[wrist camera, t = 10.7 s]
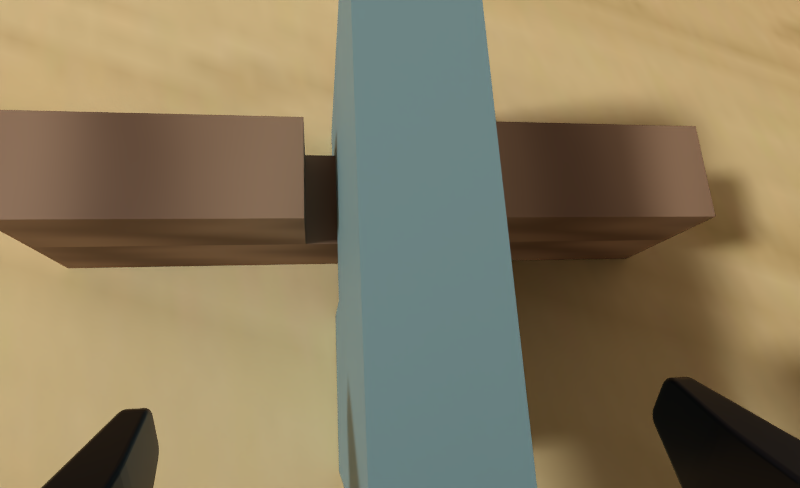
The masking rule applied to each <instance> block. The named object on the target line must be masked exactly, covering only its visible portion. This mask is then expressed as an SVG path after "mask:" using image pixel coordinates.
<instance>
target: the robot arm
mask: <svg viewBox="0 0 800 488" xmlns="http://www.w3.org/2000/svg"><path fill="white" fill-rule="evenodd" d="M653 421H654V424H655V427H656V429H657V431H658V434H659V436H660V438H661V441H662V443H663V445H664V447H665V450H666V452H667V454H668V457H669V459H670V461H671V464H672V466H673V468H674V470H675V473H676V475H677V477H678V480H679V482H680V484H681V487H682V488H800V440H799V439H797V438H795V437H793V436H792V435H790V434H788V433H786V432H785V431H783V430H781V429H779V428H778V427H776V426H774V425H772V424H771V423H769V422H767V421H765V420H764V419H762V418H760V417H758V416H757V415H755V414H753V413H751V412H750V411H748V410H746V409H744V408H743V407H741V406H739V405H737V404H736V403H734V402H732V401H730V400H729V399H727V398H725V397H723V396H722V395H720V394H718V393H716V392H715V391H713V390H711V389H709V388H708V387H706V386H704V385H702V384H701V383H699V382H697V381H695V380H694V379H692V378H689V377H675V378H668V379H666V380H665V381H664V383H663V385H662V387H661V390H660V393H659V395H658V398H657V400H656V403H655V406H654V408H653ZM158 454H159V446H158V440H157V435H156V430H155V425H154V420H153V416H152V413H151V411H150V410H149V409H147V408H140V409H125V410H122V411H121V412H119V413H118V414H117V415H116V416H115V417H114V418H113V419H112V420H111V421H110V422H109V423H108V424H107V425H106V426H105V427H103V428H102V429H101V430H100V431H99V432H98V433H97V434H96V435H95V436H94V437H93V438H92V439H91V440H90V441H89V442H88V443H87V444H86V445H85V446H84V447H83V448H82V449H81V450H80V451H79V452H78V453H77V454H76V455H75V456H74V457H73V458H72V459H70V460H69V461H68V462H67V463H66V464H65V465H64V466H63V467H62V468H61V469H60V470H59V471H58V472H57V473H56V474H55V475H54V476H53V477H52V478H51V479H50V480H49V481H48V482H47V483H46V484H45V485H44V486H43V487H42V488H153V485H154V480H155V474H156V468H157V462H158Z"/></svg>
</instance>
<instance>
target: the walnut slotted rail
mask: <svg viewBox="0 0 800 488" xmlns="http://www.w3.org/2000/svg"><path fill="white" fill-rule="evenodd" d="M496 128H497V137H498V145H499V154H500V163H501V172H502V181H503V190H504V199H505V208H506V217H507V225H508V234H509V243H510V252H511V260H560V259H618V258H628V257H630V256H632V255H634V254H637V253H639V252H641V251H643V250H645V249H647V248H649V247H652V246H654V245H656V244H658V243H660V242H662V241H664V240H666V239H669V238H671V237H673V236H675V235H677V234H679V233H681V232H683V231H686V230H688V229H690V228H692V227H694V226H696V225H698V224H701V223H703V222H705V221H707V220H709V219H711V218H713V217H715V212H714V207H713V203H712V198H711V194H710V189H709V185H708V180H707V176H706V171H705V167H704V162H703V158H702V153H701V149H700V144H699V140H698V135H697V131H696V126H656V125H614V124H571V123H529V122H496ZM0 231H1V232H3V233H5V234H7V235H9V236H11V237H12V238H14V239H16V240H18V241H20V242H21V243H23V244H25V245H27V246H29V247H31V248H32V249H34V250H36V251H38V252H40V253H41V254H43V255H45V256H47V257H49V258H51V259H52V260H54V261H56V262H58V263H60V264H61V265H63V266H65V267H67V268H92V267H151V266H209V265H268V264H326V263H338V239H337V197H336V156H314V155H305V146H304V122H303V117H277V116H234V115H192V114H150V113H108V112H66V111H24V110H0Z"/></svg>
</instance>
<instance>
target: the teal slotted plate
mask: <svg viewBox="0 0 800 488" xmlns="http://www.w3.org/2000/svg"><path fill="white" fill-rule="evenodd" d="M332 156H336V197H337V239H338V281H339V303H338V308H337V312H336V352H337V397H338V443H339V472H340V475H341V478H342V481H343V484H344V487H345V488H537V483H536V474H535V465H534V457H533V448H532V439H531V430H530V421H529V412H528V403H527V394H526V385H525V377H524V368H523V359H522V350H521V341H520V332H519V323H518V314H517V305H516V297H515V288H514V279H513V270H512V261H511V252H510V243H509V234H508V225H507V217H506V208H505V199H504V190H503V181H502V172H501V163H500V154H499V145H498V137H497V128H496V119H495V110H494V101H493V92H492V83H491V74H490V65H489V56H488V48H487V39H486V30H485V21H484V12H483V3H482V0H339V5H338V24H337V43H336V61H335V80H334V99H333V117H332Z"/></svg>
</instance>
